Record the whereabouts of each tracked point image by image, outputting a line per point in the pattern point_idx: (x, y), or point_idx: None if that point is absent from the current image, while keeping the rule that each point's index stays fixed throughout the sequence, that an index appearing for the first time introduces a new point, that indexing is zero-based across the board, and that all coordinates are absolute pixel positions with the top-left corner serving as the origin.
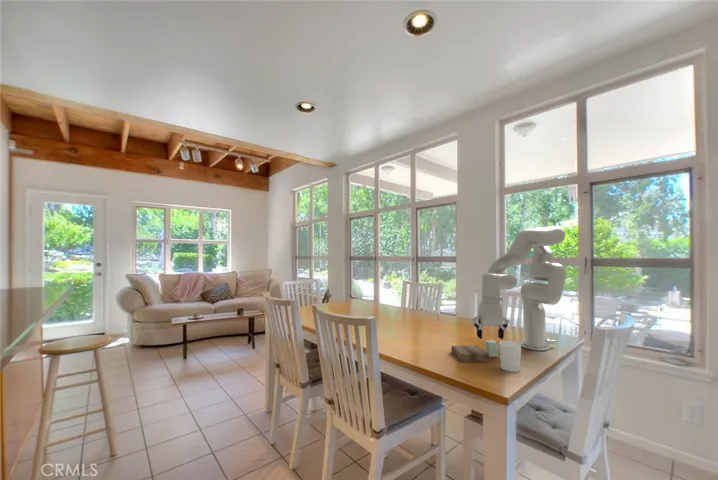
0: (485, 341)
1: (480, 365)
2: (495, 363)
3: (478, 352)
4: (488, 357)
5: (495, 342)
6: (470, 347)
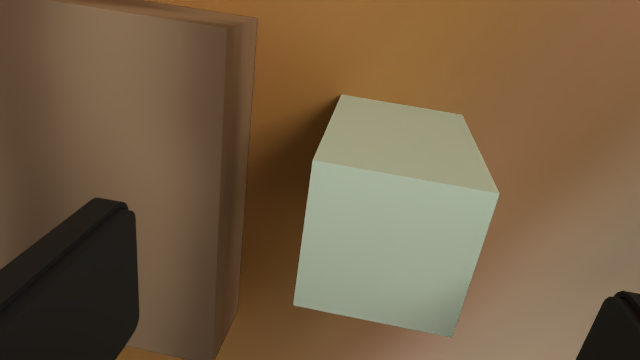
0: (313, 172)
1: (121, 355)
2: (275, 356)
3: None
4: (221, 339)
5: (440, 299)
6: (88, 98)
